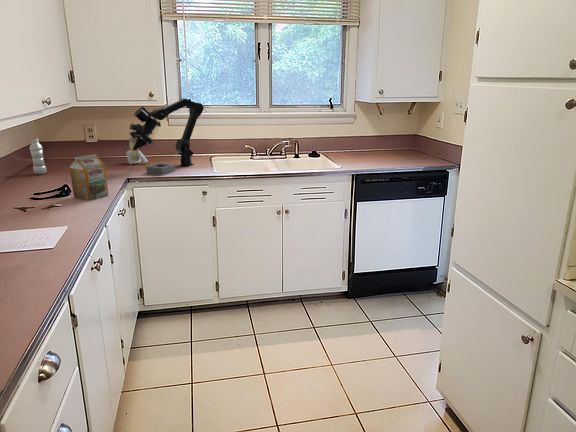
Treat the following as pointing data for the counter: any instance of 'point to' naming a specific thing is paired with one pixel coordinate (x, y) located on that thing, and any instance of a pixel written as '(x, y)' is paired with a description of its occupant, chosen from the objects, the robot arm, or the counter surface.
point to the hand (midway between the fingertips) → (131, 149)
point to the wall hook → (141, 158)
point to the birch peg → (133, 152)
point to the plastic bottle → (37, 157)
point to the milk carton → (88, 178)
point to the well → (160, 169)
